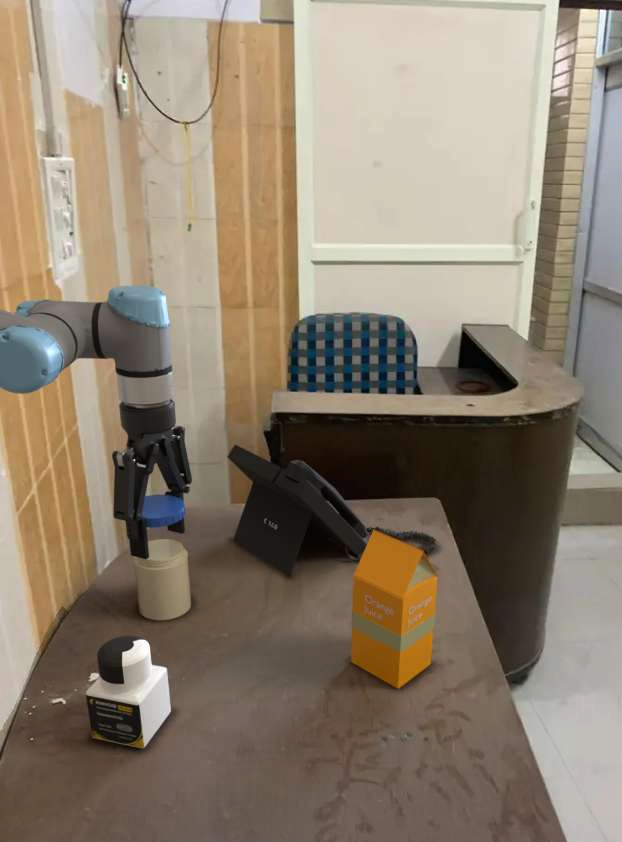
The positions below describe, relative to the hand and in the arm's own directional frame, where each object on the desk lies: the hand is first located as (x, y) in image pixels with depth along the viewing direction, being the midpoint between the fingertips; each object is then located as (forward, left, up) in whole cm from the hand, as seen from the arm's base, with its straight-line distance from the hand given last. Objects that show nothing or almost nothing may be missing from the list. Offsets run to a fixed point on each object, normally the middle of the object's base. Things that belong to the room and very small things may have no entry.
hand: (158, 543), depth 116 cm
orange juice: (+32, -20, -12) cm, 40 cm away
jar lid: (0, 0, +6) cm, 6 cm away
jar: (0, 0, -11) cm, 11 cm away
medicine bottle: (-3, -27, -12) cm, 29 cm away
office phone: (+30, +17, -11) cm, 36 cm away
